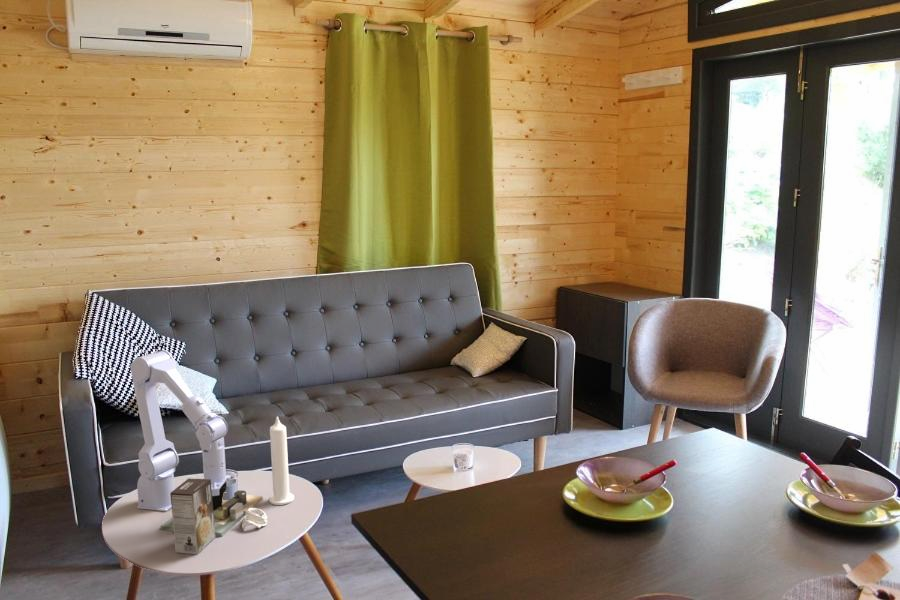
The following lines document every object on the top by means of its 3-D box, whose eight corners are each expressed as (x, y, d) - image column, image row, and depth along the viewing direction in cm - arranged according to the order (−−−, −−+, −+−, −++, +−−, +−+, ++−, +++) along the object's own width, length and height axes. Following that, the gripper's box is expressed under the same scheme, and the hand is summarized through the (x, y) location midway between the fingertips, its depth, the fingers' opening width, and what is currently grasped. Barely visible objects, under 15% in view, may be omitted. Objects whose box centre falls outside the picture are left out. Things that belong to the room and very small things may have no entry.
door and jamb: (160, 529, 201) (159, 515, 200) (206, 493, 222) (205, 481, 221) (221, 536, 197) (220, 522, 196) (262, 499, 218) (261, 486, 217)
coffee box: (193, 535, 197) (188, 477, 195) (216, 537, 196) (211, 478, 193) (174, 553, 189) (169, 492, 186) (198, 555, 187) (193, 494, 185)
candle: (269, 496, 220) (264, 413, 216) (293, 493, 222) (289, 411, 217) (269, 506, 213) (264, 421, 209) (294, 503, 215) (290, 419, 211)
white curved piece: (242, 522, 206) (240, 505, 206) (268, 517, 208) (265, 500, 207) (242, 534, 199) (239, 516, 198) (268, 529, 200) (265, 511, 200)
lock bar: (239, 499, 215) (238, 489, 214) (248, 501, 214) (248, 491, 213) (214, 518, 204) (213, 507, 203) (224, 519, 203) (224, 509, 202)
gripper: (229, 471, 198) (232, 519, 201) (229, 450, 212) (232, 496, 214) (201, 474, 196) (204, 523, 199) (202, 453, 210) (205, 499, 212)
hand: (217, 509), depth 206 cm, fingers closed, pressing on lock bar
